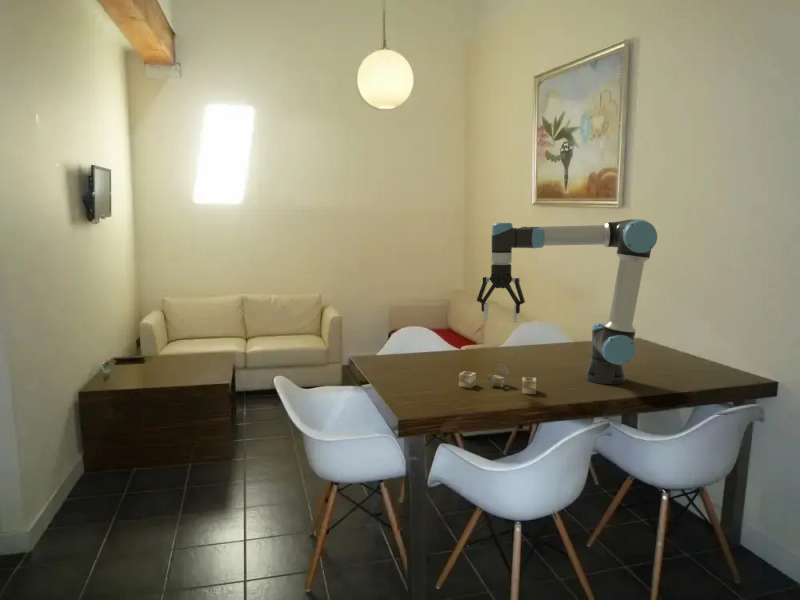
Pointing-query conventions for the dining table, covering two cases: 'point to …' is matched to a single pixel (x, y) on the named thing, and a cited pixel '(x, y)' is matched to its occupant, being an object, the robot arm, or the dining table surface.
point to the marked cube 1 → (467, 379)
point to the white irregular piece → (499, 377)
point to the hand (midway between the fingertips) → (500, 320)
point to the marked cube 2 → (528, 385)
